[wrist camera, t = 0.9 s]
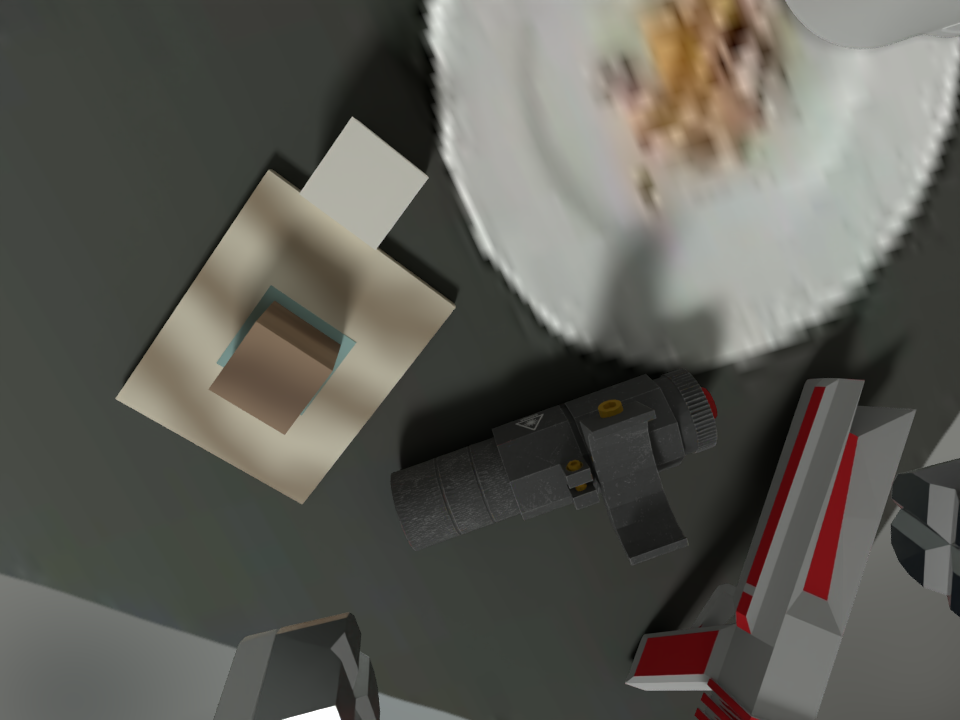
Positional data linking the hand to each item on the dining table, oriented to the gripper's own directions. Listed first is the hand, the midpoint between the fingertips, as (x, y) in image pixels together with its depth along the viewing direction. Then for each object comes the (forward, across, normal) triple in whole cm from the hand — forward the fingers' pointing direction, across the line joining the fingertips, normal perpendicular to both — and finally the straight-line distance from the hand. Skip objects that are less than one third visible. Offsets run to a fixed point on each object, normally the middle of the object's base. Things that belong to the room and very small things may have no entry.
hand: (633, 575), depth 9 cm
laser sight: (+33, -4, +15) cm, 37 cm away
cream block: (+33, +4, -5) cm, 34 cm away
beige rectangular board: (+33, +12, +4) cm, 35 cm away
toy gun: (+33, -17, +28) cm, 47 cm away
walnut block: (+32, +12, +4) cm, 34 cm away
